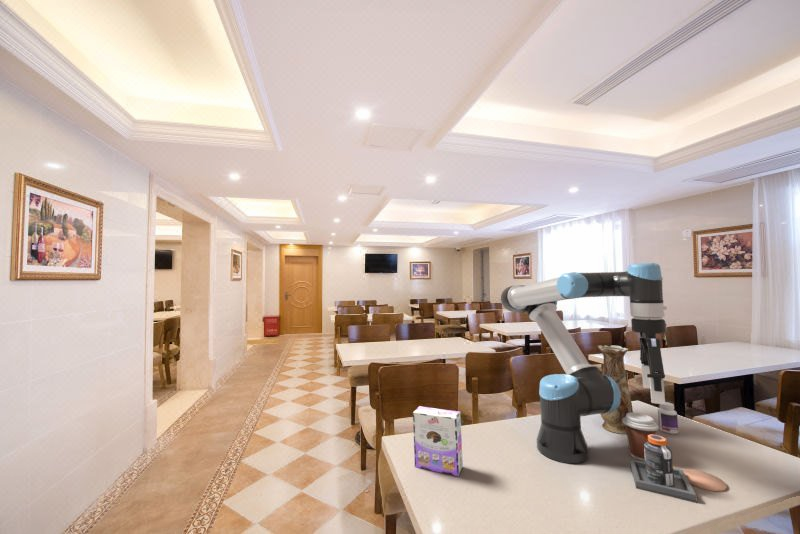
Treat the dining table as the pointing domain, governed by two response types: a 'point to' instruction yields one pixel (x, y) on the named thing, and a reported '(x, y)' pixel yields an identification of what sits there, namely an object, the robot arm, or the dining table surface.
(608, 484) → the dining table surface
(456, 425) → the candy box
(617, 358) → the vase
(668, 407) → the pill bottle
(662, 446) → the pill bottle
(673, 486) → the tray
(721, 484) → the peach flat disc
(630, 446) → the coffee cup
